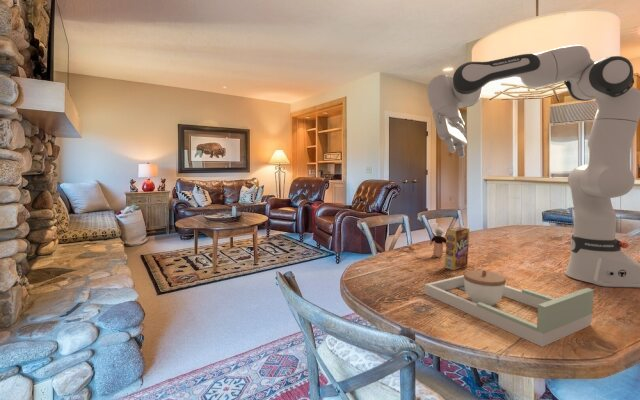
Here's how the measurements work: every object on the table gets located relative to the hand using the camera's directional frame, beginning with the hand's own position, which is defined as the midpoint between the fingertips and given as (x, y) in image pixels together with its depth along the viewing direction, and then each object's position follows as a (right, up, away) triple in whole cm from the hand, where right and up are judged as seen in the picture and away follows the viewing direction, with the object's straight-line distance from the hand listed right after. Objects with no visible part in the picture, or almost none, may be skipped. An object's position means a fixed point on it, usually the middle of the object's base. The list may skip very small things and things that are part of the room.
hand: (457, 154), depth 116 cm
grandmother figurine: (+3, -41, +26) cm, 48 cm away
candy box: (+5, -42, +12) cm, 44 cm away
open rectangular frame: (+5, -43, -33) cm, 54 cm away
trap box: (+1, -45, -23) cm, 51 cm away
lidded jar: (-1, -45, -20) cm, 50 cm away
